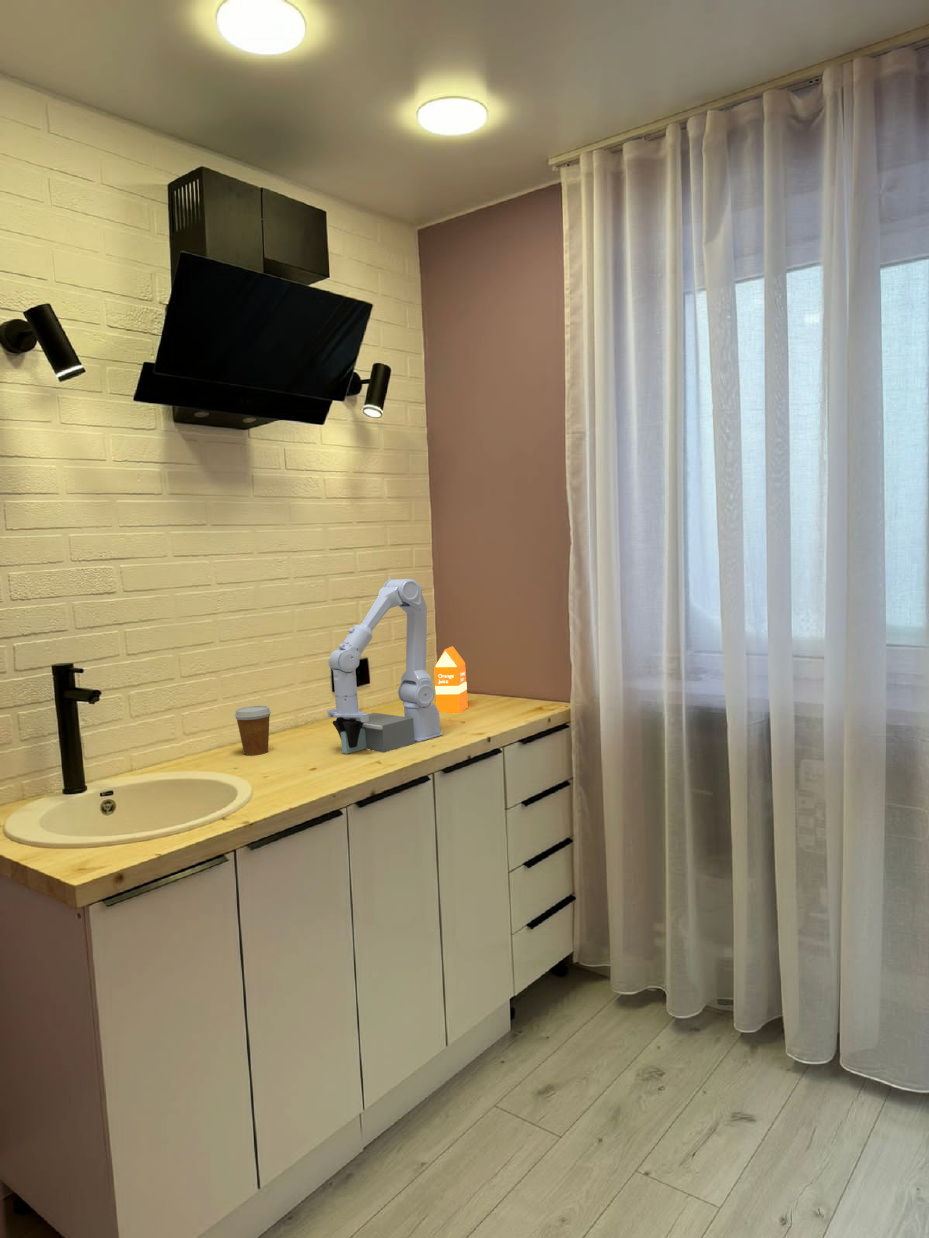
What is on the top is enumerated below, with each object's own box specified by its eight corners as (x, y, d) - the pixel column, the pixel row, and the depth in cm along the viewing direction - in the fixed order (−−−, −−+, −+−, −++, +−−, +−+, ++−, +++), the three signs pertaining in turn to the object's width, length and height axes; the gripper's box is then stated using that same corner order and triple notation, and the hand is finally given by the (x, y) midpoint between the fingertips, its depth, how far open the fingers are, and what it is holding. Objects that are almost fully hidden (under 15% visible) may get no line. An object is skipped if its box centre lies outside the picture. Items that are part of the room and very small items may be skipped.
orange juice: (436, 713, 274) (432, 650, 272) (445, 707, 282) (441, 646, 281) (460, 713, 272) (456, 649, 270) (468, 707, 280) (464, 645, 278)
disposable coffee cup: (238, 758, 229) (234, 713, 228) (237, 751, 238) (233, 707, 237) (275, 754, 231) (271, 709, 230) (273, 746, 241) (269, 704, 240)
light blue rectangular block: (382, 741, 237) (381, 721, 236) (387, 742, 236) (386, 722, 235) (342, 752, 227) (340, 731, 226) (346, 753, 225) (345, 732, 225)
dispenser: (375, 737, 244) (373, 712, 244) (415, 743, 233) (413, 717, 233) (342, 746, 236) (340, 720, 235) (382, 753, 225) (380, 726, 224)
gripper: (316, 695, 228) (320, 746, 230) (352, 699, 218) (356, 753, 220) (337, 691, 234) (341, 741, 235) (373, 695, 224) (377, 747, 225)
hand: (350, 746), depth 227 cm, fingers closed on light blue rectangular block, 2 cm apart
